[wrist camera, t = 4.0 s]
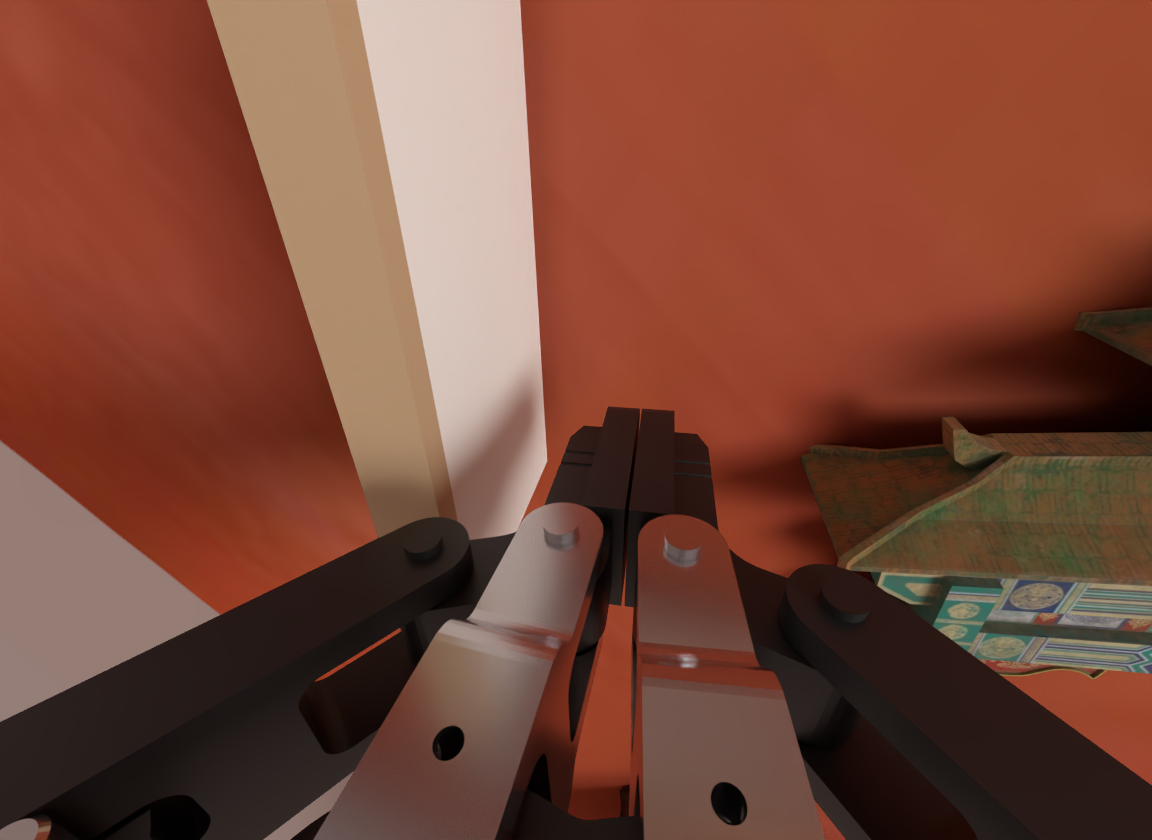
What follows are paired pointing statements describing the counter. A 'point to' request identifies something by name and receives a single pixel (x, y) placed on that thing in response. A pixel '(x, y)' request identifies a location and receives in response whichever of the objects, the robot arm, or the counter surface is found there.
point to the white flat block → (407, 237)
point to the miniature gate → (1010, 532)
